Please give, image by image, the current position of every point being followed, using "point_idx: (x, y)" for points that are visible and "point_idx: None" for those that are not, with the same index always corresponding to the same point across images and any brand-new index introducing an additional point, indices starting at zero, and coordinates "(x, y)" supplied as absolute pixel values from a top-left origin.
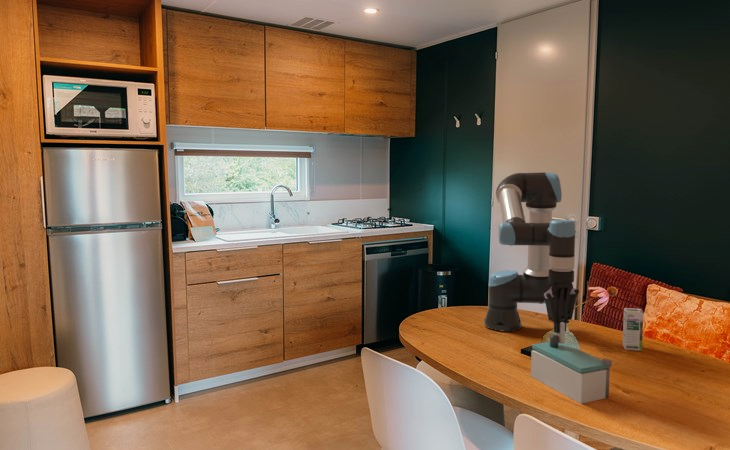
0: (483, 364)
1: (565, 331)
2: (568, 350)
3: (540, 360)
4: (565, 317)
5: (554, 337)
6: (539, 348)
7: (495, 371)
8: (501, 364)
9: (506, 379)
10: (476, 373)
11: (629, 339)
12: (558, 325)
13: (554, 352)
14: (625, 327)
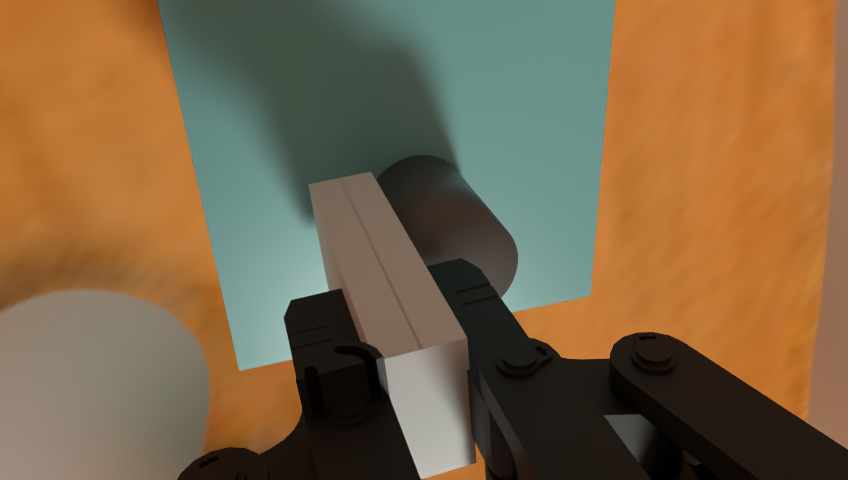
0: None
1: (295, 302)
2: (333, 26)
3: None
4: (387, 461)
5: (492, 219)
6: (596, 184)
7: (647, 263)
8: None
9: (672, 133)
10: (759, 253)
11: None
12: (491, 335)
13: (547, 11)
14: None
